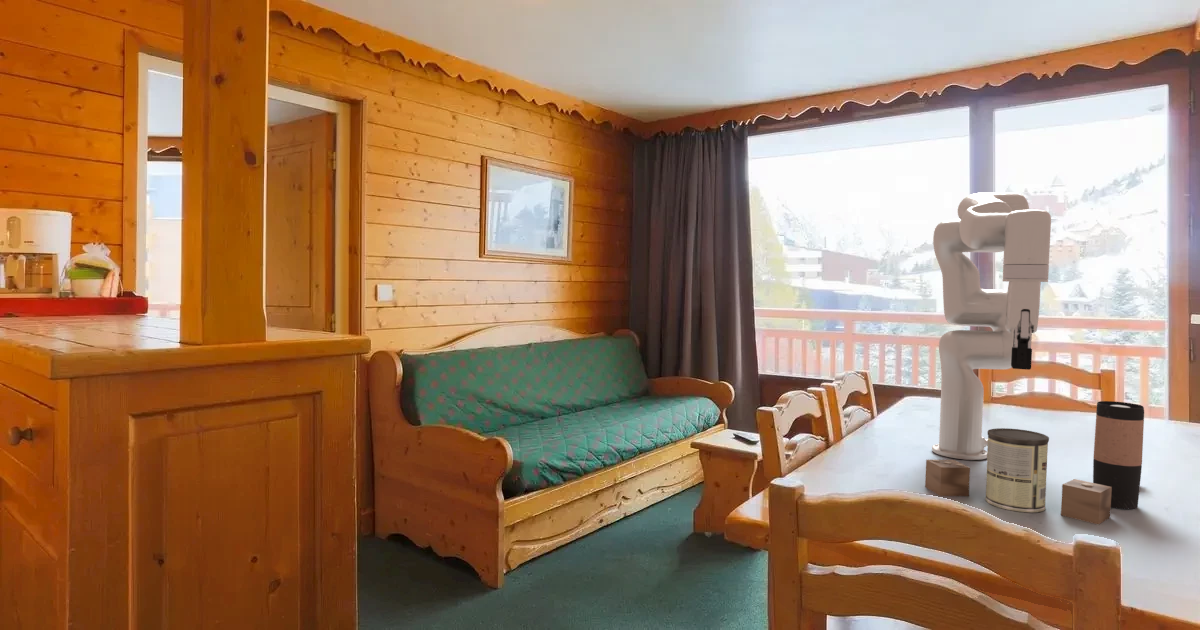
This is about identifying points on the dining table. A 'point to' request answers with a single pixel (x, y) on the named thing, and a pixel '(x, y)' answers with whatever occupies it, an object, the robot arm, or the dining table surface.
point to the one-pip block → (1086, 501)
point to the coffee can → (1016, 469)
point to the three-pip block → (947, 477)
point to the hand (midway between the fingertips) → (1020, 367)
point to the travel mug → (1119, 451)
